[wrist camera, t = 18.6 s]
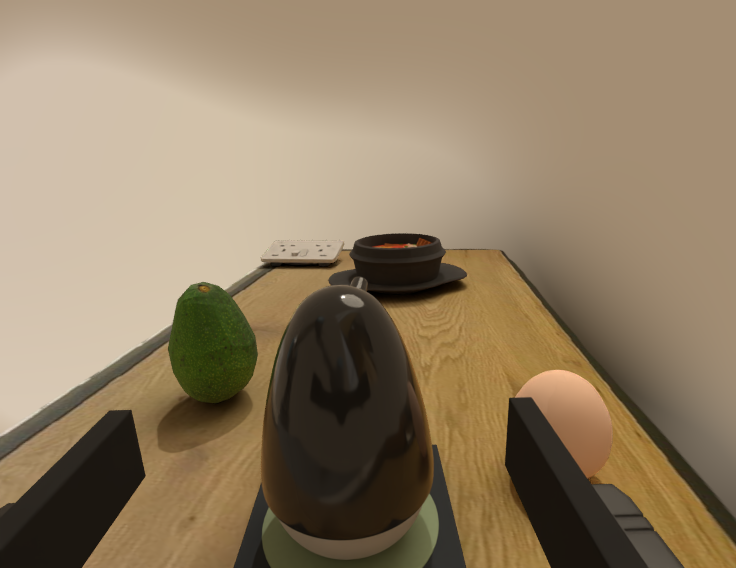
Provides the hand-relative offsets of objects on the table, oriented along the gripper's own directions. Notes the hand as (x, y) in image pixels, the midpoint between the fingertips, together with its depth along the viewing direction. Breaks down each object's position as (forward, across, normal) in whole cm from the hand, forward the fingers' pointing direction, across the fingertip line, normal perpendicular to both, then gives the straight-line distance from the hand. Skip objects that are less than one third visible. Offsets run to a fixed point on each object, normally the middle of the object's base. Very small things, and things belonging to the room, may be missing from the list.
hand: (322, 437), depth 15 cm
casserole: (+62, +7, -13) cm, 64 cm away
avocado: (+25, -13, -13) cm, 31 cm away
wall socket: (+83, -13, -14) cm, 85 cm away
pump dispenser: (+9, 0, -13) cm, 16 cm away
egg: (+13, +15, -13) cm, 24 cm away
